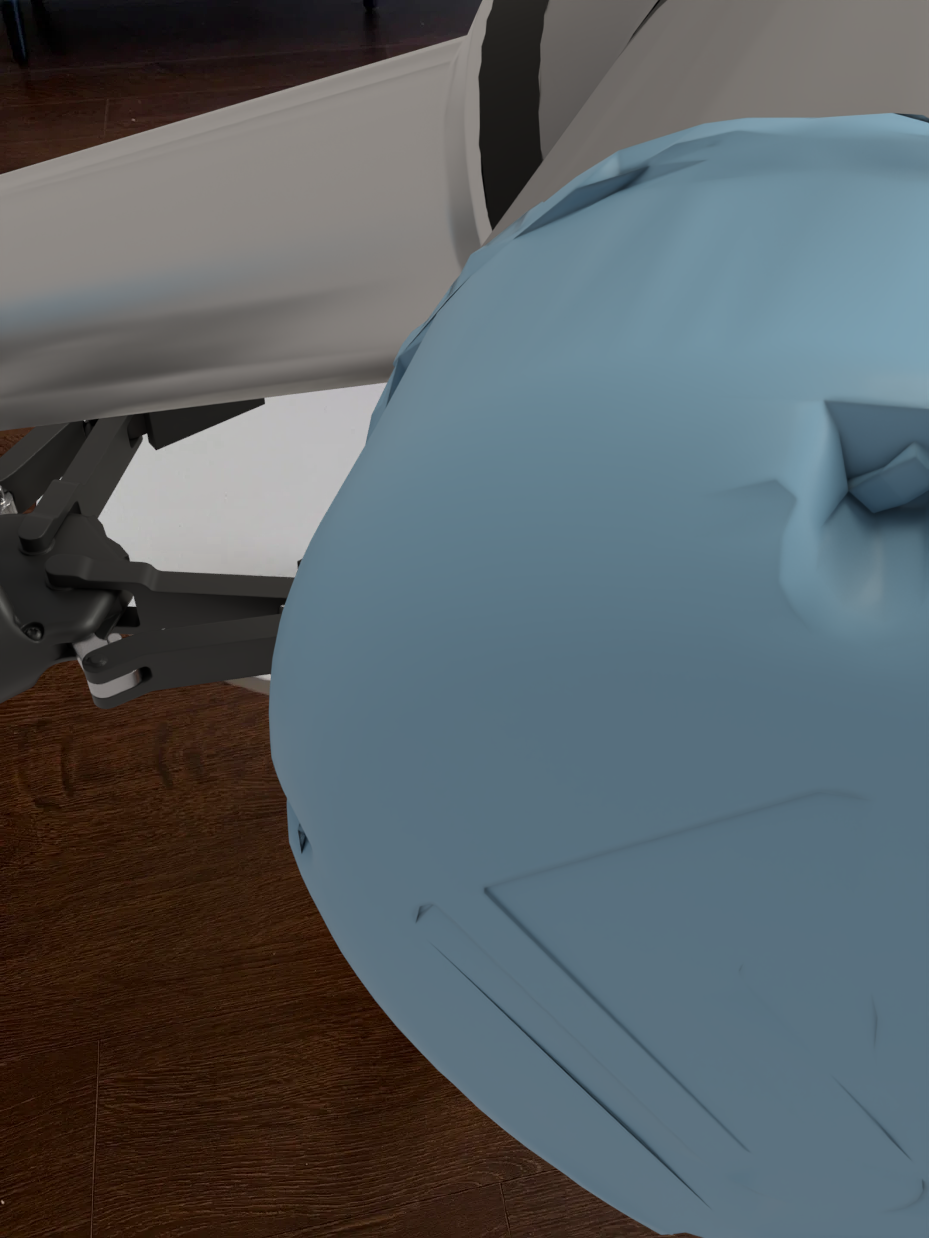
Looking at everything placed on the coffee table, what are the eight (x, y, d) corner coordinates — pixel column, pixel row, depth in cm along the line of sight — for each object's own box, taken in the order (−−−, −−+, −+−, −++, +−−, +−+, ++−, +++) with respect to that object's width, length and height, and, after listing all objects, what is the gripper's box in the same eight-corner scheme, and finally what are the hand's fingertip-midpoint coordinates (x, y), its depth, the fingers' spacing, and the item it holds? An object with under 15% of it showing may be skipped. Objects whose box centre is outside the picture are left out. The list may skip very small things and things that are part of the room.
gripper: (-170, 537, 53) (210, 383, 63) (70, 912, 42) (491, 652, 51) (-234, 415, 48) (194, 266, 57) (22, 809, 36) (506, 538, 46)
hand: (335, 448), depth 54 cm, fingers open, 13 cm apart
